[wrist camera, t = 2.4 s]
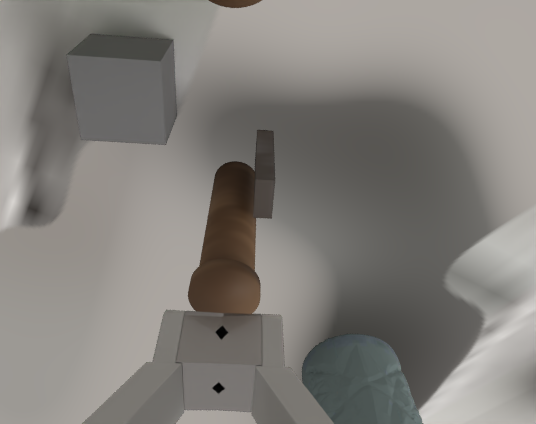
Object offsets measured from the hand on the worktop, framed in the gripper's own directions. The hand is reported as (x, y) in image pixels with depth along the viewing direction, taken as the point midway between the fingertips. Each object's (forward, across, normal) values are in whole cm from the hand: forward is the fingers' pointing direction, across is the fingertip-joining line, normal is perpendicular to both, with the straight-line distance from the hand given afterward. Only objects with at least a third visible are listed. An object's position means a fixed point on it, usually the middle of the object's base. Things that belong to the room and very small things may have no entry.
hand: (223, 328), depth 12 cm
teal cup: (+19, -11, +25) cm, 33 cm away
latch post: (+18, 0, +5) cm, 19 cm away
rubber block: (+19, +6, 0) cm, 20 cm away
